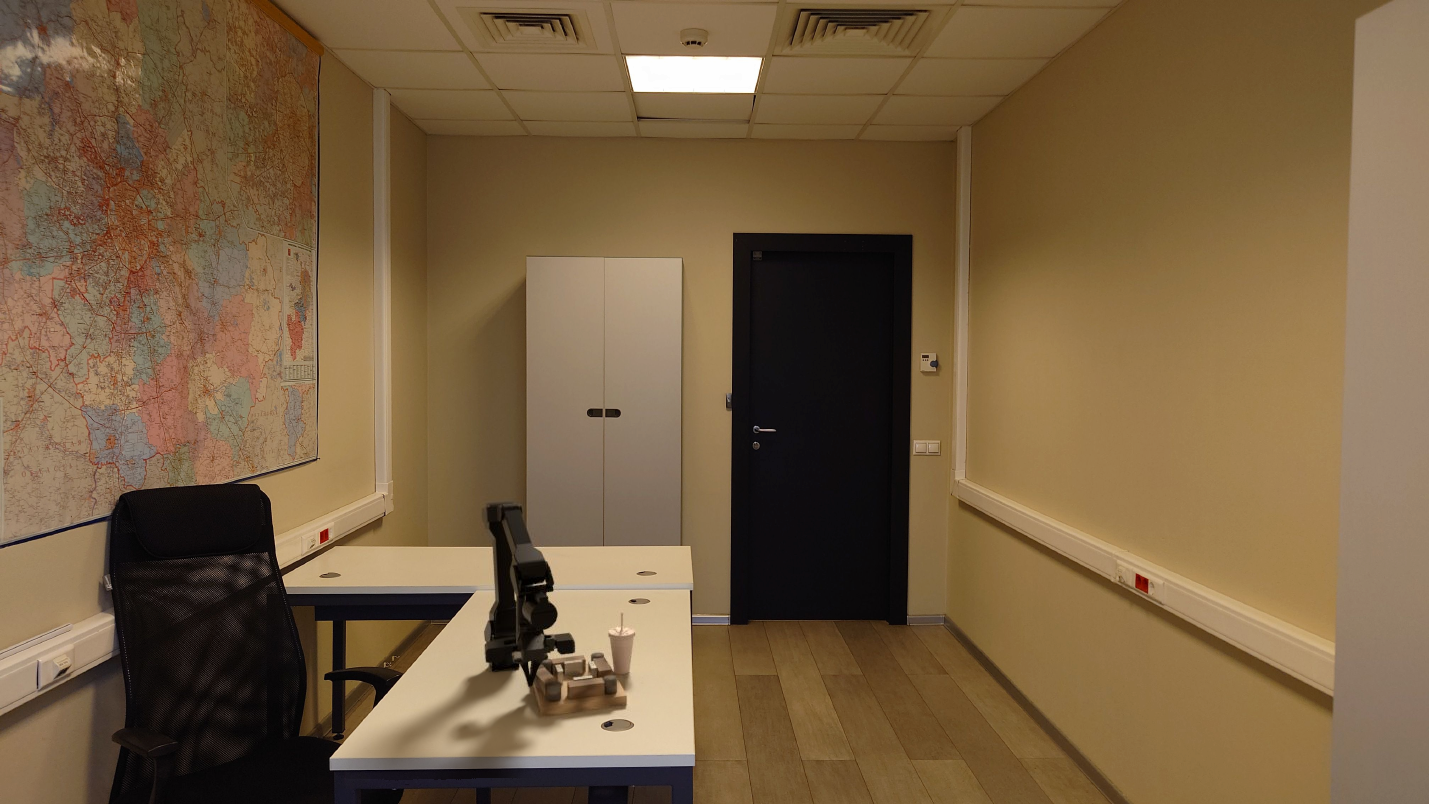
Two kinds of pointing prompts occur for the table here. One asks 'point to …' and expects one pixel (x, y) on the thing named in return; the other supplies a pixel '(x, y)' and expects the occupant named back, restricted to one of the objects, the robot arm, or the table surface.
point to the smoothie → (621, 647)
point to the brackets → (575, 670)
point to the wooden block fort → (582, 688)
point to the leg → (547, 684)
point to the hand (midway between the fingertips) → (530, 686)
